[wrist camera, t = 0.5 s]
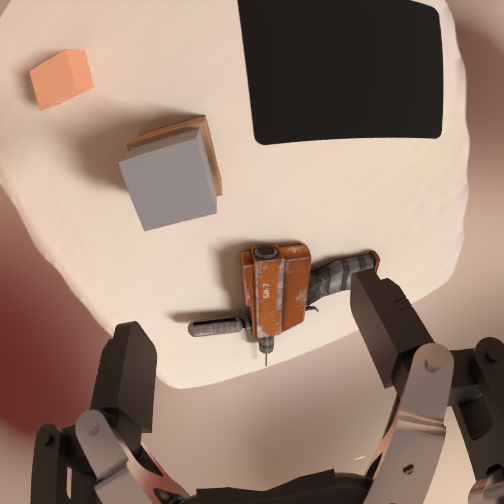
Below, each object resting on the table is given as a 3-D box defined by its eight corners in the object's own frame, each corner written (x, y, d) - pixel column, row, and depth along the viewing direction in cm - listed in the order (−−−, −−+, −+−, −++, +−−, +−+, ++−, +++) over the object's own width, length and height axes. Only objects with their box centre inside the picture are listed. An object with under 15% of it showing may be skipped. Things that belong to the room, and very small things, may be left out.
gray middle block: (132, 147, 26) (117, 162, 22) (199, 127, 26) (196, 138, 22) (153, 207, 30) (144, 231, 26) (216, 191, 30) (216, 213, 26)
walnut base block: (138, 134, 30) (126, 144, 26) (205, 115, 30) (203, 121, 26) (158, 194, 34) (151, 213, 30) (221, 178, 34) (222, 194, 30)
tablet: (438, 9, 22) (441, 138, 33) (436, 9, 22) (439, 137, 34) (235, -16, 21) (255, 146, 32) (235, -14, 21) (255, 144, 33)
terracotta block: (51, 69, 23) (29, 71, 19) (85, 50, 23) (66, 49, 19) (60, 104, 26) (39, 110, 22) (94, 87, 26) (76, 91, 21)
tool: (387, 243, 39) (169, 271, 36) (352, 356, 54) (202, 383, 51) (374, 229, 42) (171, 253, 39) (345, 341, 58) (200, 366, 54)
